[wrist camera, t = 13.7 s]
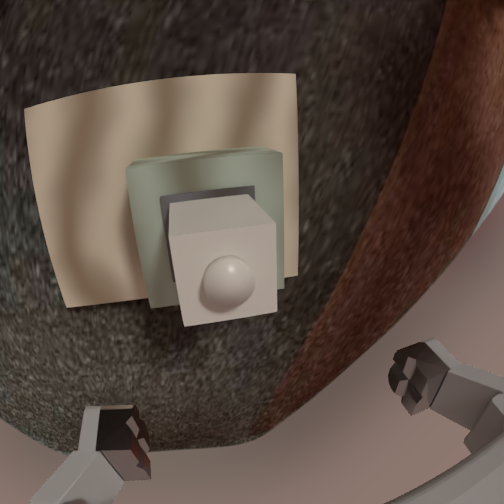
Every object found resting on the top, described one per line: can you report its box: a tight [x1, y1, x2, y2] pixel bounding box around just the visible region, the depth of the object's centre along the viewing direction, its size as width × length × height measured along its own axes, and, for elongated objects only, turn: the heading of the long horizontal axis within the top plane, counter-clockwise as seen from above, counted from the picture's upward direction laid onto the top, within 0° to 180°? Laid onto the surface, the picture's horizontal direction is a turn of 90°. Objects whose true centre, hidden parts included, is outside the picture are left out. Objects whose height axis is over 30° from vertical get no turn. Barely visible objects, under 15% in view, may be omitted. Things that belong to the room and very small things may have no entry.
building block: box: [169, 194, 277, 327], centre depth 18 cm, size 5×5×7 cm
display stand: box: [24, 73, 299, 308], centre depth 23 cm, size 22×18×7 cm
